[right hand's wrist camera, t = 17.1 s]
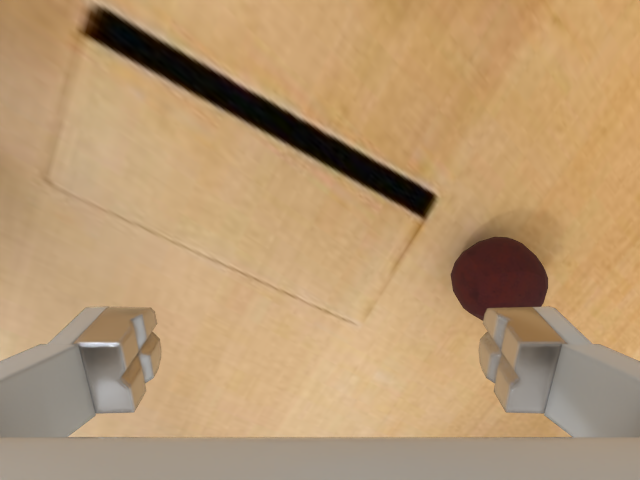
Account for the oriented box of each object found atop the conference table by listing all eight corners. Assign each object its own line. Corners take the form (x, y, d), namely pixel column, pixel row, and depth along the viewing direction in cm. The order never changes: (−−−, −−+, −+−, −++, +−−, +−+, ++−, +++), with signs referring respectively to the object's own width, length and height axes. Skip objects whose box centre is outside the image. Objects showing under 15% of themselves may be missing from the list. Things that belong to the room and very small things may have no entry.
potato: (517, 296, 40) (556, 338, 34) (438, 297, 40) (461, 340, 34) (529, 225, 38) (574, 256, 31) (445, 227, 38) (472, 258, 31)
